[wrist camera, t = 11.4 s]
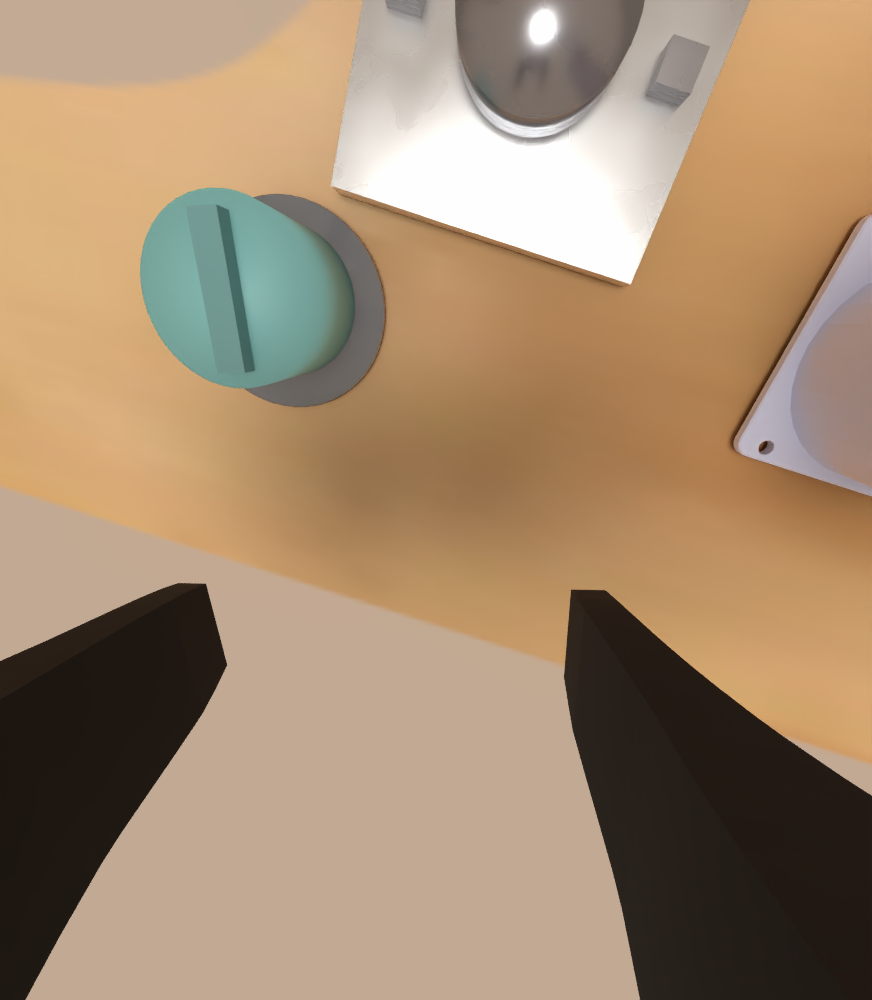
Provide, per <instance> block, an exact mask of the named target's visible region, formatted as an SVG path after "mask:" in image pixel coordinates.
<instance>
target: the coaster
mask: <svg viewBox="0 0 872 1000" xmlns="http://www.w3.org/2000/svg"><path fill="white" fill-rule="evenodd" d="M253 198H255V199H257V200H259V201H260V202H262V203H264V204H266V205H268V206H269V207H271V208H273V209H275V210H277V211H278V212H280V213H282V214H284V215H286V216H287V217H289V218H291V219H293V220H294V221H296V222H298V223H300V224H302V225H303V226H305V227H307V228H309V229H311V230H312V231H314V232H315V233H317V234H318V235H320V236H321V237H322V238H324V239H325V240H326V241H327V242H328V243H329V244H330V245H331V246H332V247H333V249H334V250H335V251H336V252H337V254H338V255H339V256H340V258H341V259H342V261H343V263H344V265H345V267H346V269H347V271H348V273H349V276H350V279H351V282H352V286H353V290H354V297H355V317H354V323H353V328H352V331H351V334H350V336H349V339H348V341H347V343H346V344H345V346H344V348H343V349H342V350H341V352H340V353H339V354H338V355H337V356H336V357H335V359H333V360H332V361H331V362H330V363H328V364H327V365H325V366H324V367H322V368H320V369H318V370H315V371H313V372H309V373H306V374H302V375H299V376H296V377H292V378H289V379H285V380H282V381H278V382H275V383H271V384H268V385H264V386H260V387H256V388H244V389H246V390H247V391H249V392H250V393H252V394H254V395H256V396H258V397H260V398H262V399H264V400H267V401H269V402H272V403H276V404H280V405H284V406H292V407H308V406H314V405H319V404H322V403H325V402H329V401H331V400H333V399H335V398H337V397H339V396H341V395H343V394H344V393H346V392H347V391H349V390H350V389H352V388H353V387H354V386H355V385H356V384H357V383H358V382H359V381H360V380H361V379H362V378H363V377H364V376H365V374H366V373H367V372H368V370H369V369H370V367H371V366H372V364H373V362H374V360H375V358H376V356H377V354H378V352H379V349H380V345H381V342H382V339H383V333H384V327H385V298H384V293H383V288H382V283H381V280H380V277H379V274H378V270H377V268H376V266H375V264H374V262H373V259H372V257H371V255H370V254H369V252H368V250H367V249H366V247H365V245H364V244H363V243H362V241H361V240H360V239H359V237H358V236H357V235H356V234H355V232H354V231H353V230H352V229H351V228H350V227H349V226H348V225H347V224H346V223H345V222H343V221H342V220H341V219H339V218H338V217H337V216H336V215H334V214H333V213H332V212H330V211H329V210H327V209H325V208H324V207H322V206H320V205H318V204H316V203H314V202H312V201H309V200H307V199H304V198H300V197H296V196H292V195H283V194H270V195H262V196H257V197H253Z"/></svg>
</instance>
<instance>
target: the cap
mask: <svg viewBox="0 0 872 1000" xmlns="http://www.w3.org/2000/svg"><path fill="white" fill-rule="evenodd" d="M140 276H141V287H142V293H143V298H144V302H145V305H146V308H147V312H148V314H149V316H150V319H151V321H152V324H153V325H154V327H155V329H156V331H157V333H158V335H159V336H160V338H161V339H162V341H163V342H164V344H165V345H166V346H167V347H168V349H169V350H170V351H171V352H172V353H173V355H174V356H175V357H176V358H177V359H178V360H179V361H181V362H182V363H183V364H184V365H185V366H186V367H188V368H189V369H190V370H191V371H193V372H195V373H196V374H198V375H199V376H201V377H203V378H205V379H207V380H209V381H211V382H214V383H217V384H220V385H223V386H227V387H233V388H256V387H260V386H264V385H268V384H271V383H275V382H278V381H282V380H285V379H289V378H292V377H296V376H299V375H302V374H306V373H309V372H313V371H315V370H318V369H320V368H322V367H324V366H325V365H327V364H328V363H330V362H331V361H332V360H333V359H335V357H336V356H337V355H338V354H339V353H340V352H341V350H342V349H343V348H344V346H345V344H346V343H347V341H348V339H349V336H350V334H351V331H352V328H353V323H354V317H355V297H354V290H353V286H352V282H351V279H350V276H349V273H348V271H347V269H346V267H345V265H344V263H343V261H342V259H341V258H340V256H339V255H338V254H337V252H336V251H335V250H334V249H333V247H332V246H331V245H330V244H329V243H328V242H327V241H326V240H325V239H324V238H322V237H321V236H320V235H318V234H317V233H315V232H314V231H312V230H311V229H309V228H307V227H305V226H303V225H302V224H300V223H298V222H296V221H294V220H293V219H291V218H289V217H287V216H286V215H284V214H282V213H280V212H278V211H277V210H275V209H273V208H271V207H269V206H268V205H266V204H264V203H262V202H260V201H259V200H257V199H255V198H253V197H251V196H249V195H247V194H244V193H241V192H238V191H235V190H230V189H224V188H205V189H198V190H194V191H191V192H188V193H186V194H184V195H182V196H180V197H178V198H176V199H175V200H173V201H172V202H171V203H169V204H168V205H167V206H166V207H165V208H164V209H163V210H162V211H161V212H160V213H159V214H158V216H157V217H156V219H155V220H154V222H153V223H152V225H151V227H150V229H149V231H148V234H147V236H146V239H145V242H144V245H143V250H142V256H141V267H140Z"/></svg>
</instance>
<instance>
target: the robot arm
mask: <svg viewBox="0 0 872 1000" xmlns="http://www.w3.org/2000/svg"><path fill="white" fill-rule="evenodd" d="M764 441H767V443H768V444H767V447H766V448H765V449H764V450H763V451H761V452H759V450H758V448H759V445H760V444H761V443H762V442H764ZM733 443H734V448H735V450H736V451H737V452H738V453H740V454H742V455H744V456H747V457H750V458H753V459H756V460H759V461H762V462H766V463H769V464H772V465H775V466H778V467H781V468H784V469H787V470H790V471H794V472H797V473H800V474H803V475H806V476H809V477H812V478H815V479H819V480H822V481H825V482H828V483H831V484H834V485H837V486H840V487H844V488H847V489H850V490H853V491H856V492H859V493H862V494H865V495H869V496H872V214H869V215H867V216H865V217H864V218H863V219H861V220H860V221H859V223H858V224H857V225H856V227H855V228H854V230H853V232H852V234H851V235H850V237H849V239H848V241H847V242H846V244H845V246H844V248H843V249H842V251H841V253H840V255H839V256H838V258H837V260H836V262H835V263H834V265H833V267H832V269H831V270H830V272H829V274H828V276H827V277H826V279H825V281H824V283H823V284H822V286H821V288H820V290H819V291H818V293H817V295H816V297H815V298H814V300H813V302H812V304H811V305H810V307H809V309H808V311H807V312H806V314H805V316H804V318H803V319H802V321H801V323H800V325H799V326H798V328H797V330H796V332H795V333H794V335H793V337H792V339H791V340H790V342H789V344H788V346H787V347H786V349H785V351H784V353H783V354H782V356H781V358H780V360H779V361H778V363H777V365H776V367H775V368H774V370H773V372H772V374H771V375H770V377H769V379H768V381H767V382H766V384H765V386H764V388H763V389H762V391H761V393H760V395H759V396H758V398H757V400H756V402H755V403H754V405H753V407H752V409H751V410H750V412H749V414H748V416H747V417H746V419H745V421H744V423H743V424H742V426H741V428H740V430H739V431H738V433H737V435H736V437H735V439H734V442H733ZM226 666H227V663H226V659H225V656H224V651H223V648H222V644H221V640H220V636H219V632H218V628H217V625H216V621H215V617H214V613H213V609H212V605H211V602H210V598H209V594H208V590H207V586H206V584H189V583H188V584H187V583H177V584H175V585H172V586H169V587H166V588H163V589H160V590H158V591H156V592H153V593H151V594H148V595H146V596H144V597H141V598H139V599H137V600H134V601H132V602H130V603H128V604H125V605H123V606H121V607H119V608H117V609H114V610H112V611H110V612H108V613H106V614H104V615H101V616H99V617H97V618H95V619H93V620H90V621H88V622H86V623H84V624H82V625H80V626H77V627H75V628H73V629H71V630H69V631H67V632H65V633H63V634H60V635H58V636H56V637H54V638H52V639H49V640H48V641H45V642H43V643H40V644H38V645H36V646H34V647H31V648H29V649H27V650H24V651H22V652H20V653H18V654H15V655H13V656H11V657H9V658H6V659H4V660H2V661H0V1000H25V999H26V998H27V996H28V994H29V992H30V990H31V988H32V986H33V985H34V982H35V981H36V979H37V977H38V975H39V974H40V971H41V970H42V968H43V966H44V964H45V962H46V960H47V959H48V957H49V955H50V953H51V951H52V949H53V948H54V946H55V944H56V942H57V940H58V938H59V936H60V935H61V933H62V931H63V930H64V928H65V926H66V924H67V923H68V921H69V919H70V917H71V916H72V914H73V912H74V910H75V909H76V907H77V905H78V903H79V901H80V900H81V898H82V896H83V895H84V893H85V891H86V889H87V888H88V886H89V884H90V883H91V881H92V879H93V877H94V876H95V874H96V872H97V870H98V868H99V867H100V865H101V864H102V862H103V860H104V859H105V857H106V856H107V854H108V853H109V851H110V849H111V848H112V846H113V845H114V843H115V842H116V840H117V839H118V837H119V835H120V834H121V832H122V831H123V829H124V828H125V826H126V825H127V824H128V822H129V821H130V819H131V818H132V816H133V815H134V813H135V812H136V810H137V809H138V808H139V806H140V804H141V803H142V802H143V800H144V799H145V797H146V796H147V794H148V793H149V791H150V790H151V789H152V787H153V786H154V784H155V783H156V781H157V780H158V778H159V777H160V775H161V774H162V773H163V771H164V770H165V768H166V767H167V765H168V764H169V762H170V761H171V760H172V758H173V757H174V755H175V754H176V752H177V751H178V749H179V748H180V746H181V745H182V743H183V742H184V740H185V739H186V737H187V736H188V734H189V733H190V731H191V730H192V729H193V727H194V726H195V724H196V722H197V721H198V719H199V718H200V716H201V715H202V713H203V712H204V710H205V708H206V706H207V704H208V702H209V700H210V698H211V697H212V695H213V693H214V691H215V689H216V687H217V685H218V683H219V681H220V679H221V676H222V675H223V672H224V670H225V668H226ZM564 680H565V685H566V691H567V699H568V705H569V711H570V716H571V722H572V728H573V733H574V736H575V740H576V743H577V747H578V751H579V754H580V758H581V761H582V765H583V769H584V772H585V776H586V779H587V783H588V786H589V790H590V793H591V797H592V800H593V804H594V807H595V811H596V814H597V818H598V821H599V825H600V828H601V832H602V835H603V839H604V842H605V845H606V849H607V853H608V856H609V860H610V863H611V867H612V871H613V874H614V878H615V882H616V886H617V890H618V895H619V899H620V903H621V906H622V911H623V916H624V921H625V926H626V931H627V936H628V941H629V946H630V951H631V956H632V961H633V966H634V971H635V976H636V981H637V986H638V991H639V996H640V1000H872V796H871V795H870V794H868V793H867V792H865V791H863V790H862V789H860V788H859V787H857V786H855V785H854V784H852V783H851V782H849V781H848V780H846V779H845V778H843V777H842V776H840V775H839V774H837V773H836V772H834V771H833V770H832V769H830V768H829V767H827V766H825V765H824V764H823V763H821V762H820V761H818V760H817V759H815V758H814V757H812V756H811V755H809V754H808V753H806V752H805V751H804V750H802V749H801V748H799V747H798V746H796V745H795V744H793V743H792V742H791V741H789V740H788V739H786V738H785V737H783V736H782V735H780V734H779V733H778V732H776V731H775V730H773V729H772V728H771V727H769V726H768V725H767V724H765V723H764V722H762V721H761V720H760V719H758V718H757V717H756V716H754V715H753V714H752V713H750V712H749V711H748V710H746V709H745V708H744V707H743V706H741V705H740V704H739V703H737V702H736V701H735V700H733V699H732V698H731V697H730V696H728V695H727V694H726V693H724V692H723V691H722V690H720V689H719V688H718V687H717V686H715V685H714V684H713V683H711V682H710V681H709V680H708V679H707V678H705V677H704V676H703V675H702V674H700V673H699V672H698V671H697V670H695V669H694V668H693V667H692V666H691V665H689V664H688V663H687V662H686V661H685V660H683V659H682V658H681V657H680V656H679V655H678V654H676V653H675V652H674V651H673V650H672V649H671V648H669V647H668V646H667V645H666V644H665V643H664V642H663V641H661V640H660V639H659V638H658V637H657V636H656V635H655V634H653V633H652V632H651V631H650V630H649V629H648V628H647V627H646V626H645V625H643V624H642V623H641V622H640V621H639V620H638V619H637V618H636V617H635V616H633V615H632V614H631V613H630V612H629V611H628V610H627V609H626V608H625V607H624V606H622V605H621V604H620V603H619V602H618V601H617V600H616V599H615V598H614V597H612V596H611V595H610V594H609V593H608V592H607V591H605V590H571V598H570V610H569V623H568V635H567V647H566V660H565V672H564Z"/></svg>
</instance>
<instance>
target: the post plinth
mask: <svg viewBox="0 0 872 1000" xmlns="http://www.w3.org/2000/svg"><path fill="white" fill-rule="evenodd" d="M749 2H750V0H363V3H362V8H361V14H360V20H359V26H358V32H357V37H356V43H355V49H354V55H353V60H352V66H351V72H350V78H349V84H348V89H347V95H346V101H345V107H344V112H343V118H342V124H341V130H340V136H339V141H338V147H337V153H336V159H335V164H334V170H333V176H332V182H331V186H332V187H333V188H334V189H335V190H336V191H337V192H338V193H339V194H341V195H344V196H347V197H350V198H353V199H356V200H359V201H362V202H365V203H368V204H372V205H375V206H378V207H381V208H384V209H387V210H390V211H393V212H396V213H399V214H402V215H405V216H408V217H411V218H414V219H417V220H420V221H423V222H426V223H429V224H432V225H435V226H438V227H442V228H445V229H448V230H451V231H454V232H457V233H460V234H463V235H466V236H469V237H472V238H475V239H478V240H481V241H484V242H487V243H490V244H493V245H496V246H499V247H502V248H505V249H508V250H512V251H515V252H518V253H521V254H524V255H527V256H530V257H533V258H536V259H539V260H542V261H545V262H548V263H551V264H554V265H557V266H560V267H563V268H566V269H569V270H572V271H575V272H578V273H582V274H585V275H588V276H591V277H594V278H597V279H600V280H603V281H606V282H609V283H612V284H615V285H618V286H621V287H622V286H626V285H629V284H631V282H632V280H633V278H634V275H635V273H636V270H637V268H638V266H639V263H640V261H641V259H642V256H643V254H644V251H645V249H646V247H647V244H648V242H649V239H650V237H651V235H652V232H653V230H654V228H655V225H656V223H657V220H658V218H659V216H660V213H661V211H662V209H663V206H664V204H665V201H666V199H667V197H668V194H669V192H670V190H671V187H672V185H673V182H674V180H675V178H676V175H677V173H678V171H679V168H680V166H681V163H682V161H683V159H684V156H685V154H686V152H687V149H688V147H689V144H690V142H691V140H692V137H693V135H694V133H695V130H696V128H697V125H698V123H699V121H700V118H701V116H702V114H703V111H704V109H705V106H706V104H707V102H708V99H709V97H710V95H711V92H712V90H713V87H714V85H715V83H716V80H717V78H718V76H719V73H720V71H721V68H722V66H723V64H724V61H725V59H726V57H727V54H728V52H729V49H730V47H731V45H732V42H733V40H734V38H735V35H736V33H737V30H738V28H739V26H740V23H741V21H742V19H743V16H744V14H745V11H746V9H747V7H748V4H749Z"/></svg>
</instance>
